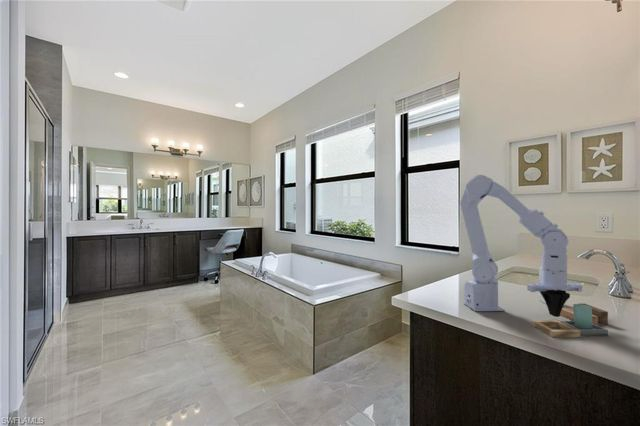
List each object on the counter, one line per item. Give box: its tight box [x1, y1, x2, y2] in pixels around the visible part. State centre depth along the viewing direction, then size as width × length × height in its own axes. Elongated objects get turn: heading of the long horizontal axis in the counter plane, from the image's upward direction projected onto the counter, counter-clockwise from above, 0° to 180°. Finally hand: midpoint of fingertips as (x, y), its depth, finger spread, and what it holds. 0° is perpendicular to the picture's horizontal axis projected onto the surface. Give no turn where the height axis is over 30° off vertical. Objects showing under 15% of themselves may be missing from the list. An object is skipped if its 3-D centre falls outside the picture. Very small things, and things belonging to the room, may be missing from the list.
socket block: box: [531, 319, 581, 338], centre depth 75 cm, size 7×7×2 cm
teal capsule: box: [572, 303, 593, 329], centre depth 75 cm, size 4×4×6 cm
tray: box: [560, 320, 609, 337], centre depth 75 cm, size 7×6×2 cm
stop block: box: [581, 303, 609, 325], centre depth 82 cm, size 2×7×4 cm, turn 179°
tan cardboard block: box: [559, 307, 599, 325], centre depth 83 cm, size 5×7×2 cm
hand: (554, 315), depth 83 cm, fingers closed
